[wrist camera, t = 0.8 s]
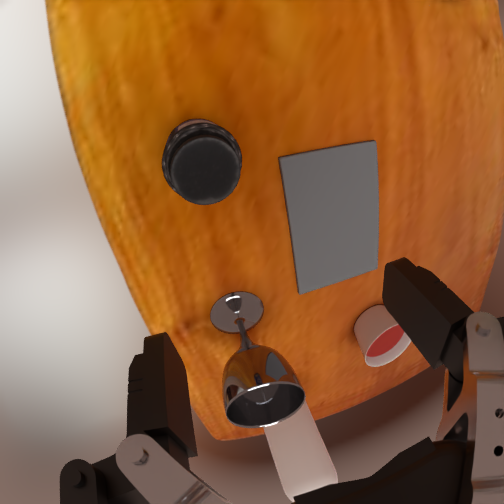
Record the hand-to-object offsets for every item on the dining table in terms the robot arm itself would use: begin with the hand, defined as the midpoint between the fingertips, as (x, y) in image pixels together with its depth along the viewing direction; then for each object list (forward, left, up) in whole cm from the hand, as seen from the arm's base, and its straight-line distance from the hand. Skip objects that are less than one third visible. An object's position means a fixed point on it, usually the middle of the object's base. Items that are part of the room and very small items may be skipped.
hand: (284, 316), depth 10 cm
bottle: (+38, +1, -23) cm, 44 cm away
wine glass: (+19, -2, -23) cm, 30 cm away
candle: (+30, +19, -23) cm, 42 cm away
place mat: (+10, +13, -23) cm, 28 cm away
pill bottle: (-2, -1, -23) cm, 24 cm away
